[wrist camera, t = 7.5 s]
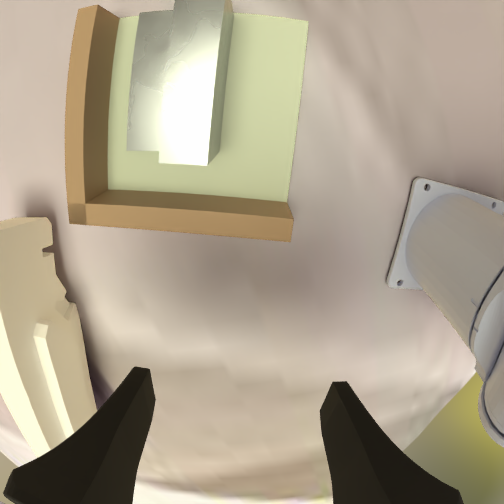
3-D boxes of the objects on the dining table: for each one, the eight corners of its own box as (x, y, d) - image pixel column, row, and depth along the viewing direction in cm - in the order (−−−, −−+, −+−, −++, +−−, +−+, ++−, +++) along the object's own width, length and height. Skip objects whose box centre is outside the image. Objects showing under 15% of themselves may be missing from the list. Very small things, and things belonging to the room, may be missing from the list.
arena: (306, 24, 13) (319, 4, 10) (283, 218, 18) (290, 242, 15) (106, 23, 13) (78, 9, 10) (96, 204, 18) (69, 223, 15)
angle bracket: (219, 151, 16) (207, 165, 12) (134, 148, 16) (94, 162, 11) (234, 16, 13) (227, -19, 8) (146, 18, 13) (111, -10, 8)
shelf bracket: (91, 418, 29) (51, 492, 17) (52, 207, 23) (-49, 232, 11) (131, 427, 29) (99, 509, 17) (101, 206, 23) (0, 234, 11)
